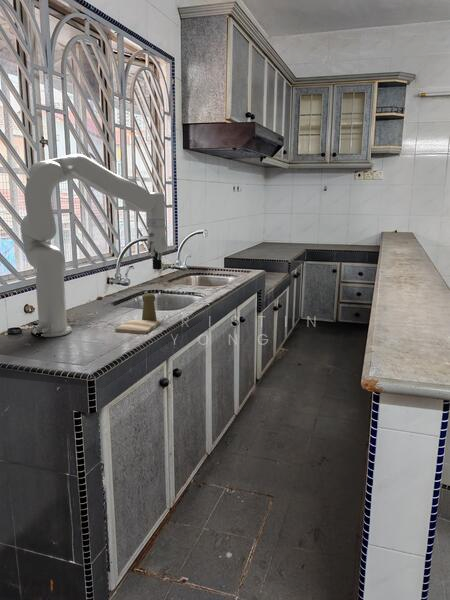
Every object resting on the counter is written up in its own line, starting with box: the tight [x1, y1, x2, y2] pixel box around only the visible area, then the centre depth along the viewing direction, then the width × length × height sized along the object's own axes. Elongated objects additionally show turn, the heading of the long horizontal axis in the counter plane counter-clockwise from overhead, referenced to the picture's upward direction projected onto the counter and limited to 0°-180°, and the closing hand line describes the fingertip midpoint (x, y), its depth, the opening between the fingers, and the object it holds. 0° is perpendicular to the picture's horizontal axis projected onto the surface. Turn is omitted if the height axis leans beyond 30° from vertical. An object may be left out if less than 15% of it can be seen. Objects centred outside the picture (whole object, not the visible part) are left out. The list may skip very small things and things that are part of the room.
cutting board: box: [115, 318, 161, 335], centre depth 184 cm, size 14×12×1 cm
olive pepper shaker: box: [141, 292, 158, 321], centre depth 194 cm, size 6×6×11 cm
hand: (157, 269), depth 200 cm, fingers closed
